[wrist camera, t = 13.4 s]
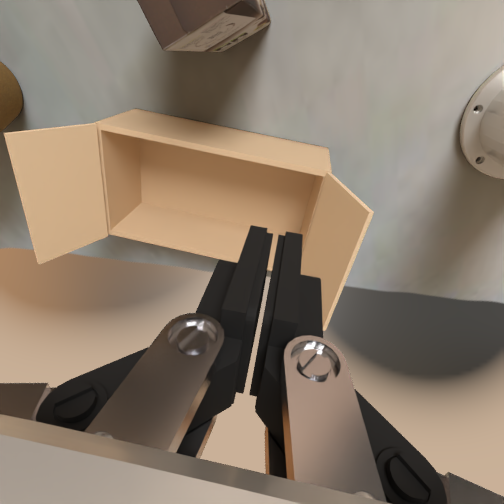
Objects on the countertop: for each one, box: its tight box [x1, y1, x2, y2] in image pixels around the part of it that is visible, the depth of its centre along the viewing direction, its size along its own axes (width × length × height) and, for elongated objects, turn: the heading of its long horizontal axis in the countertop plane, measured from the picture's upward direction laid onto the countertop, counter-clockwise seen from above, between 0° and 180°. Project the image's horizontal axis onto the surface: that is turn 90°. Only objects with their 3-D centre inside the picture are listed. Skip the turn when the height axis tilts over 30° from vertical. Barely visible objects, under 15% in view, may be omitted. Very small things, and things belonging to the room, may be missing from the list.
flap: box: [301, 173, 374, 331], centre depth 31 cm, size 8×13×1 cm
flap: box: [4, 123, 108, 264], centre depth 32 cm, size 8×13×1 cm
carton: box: [94, 109, 332, 271], centre depth 39 cm, size 24×13×9 cm, turn 81°
